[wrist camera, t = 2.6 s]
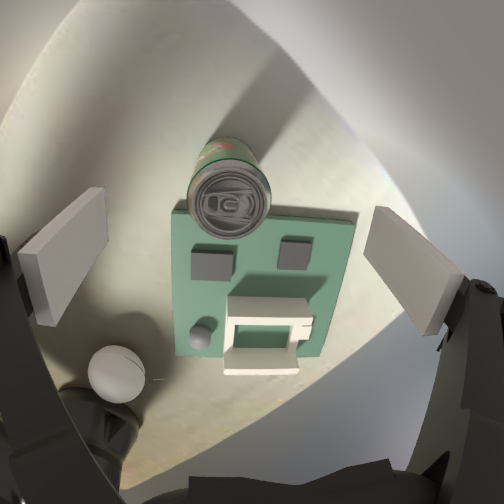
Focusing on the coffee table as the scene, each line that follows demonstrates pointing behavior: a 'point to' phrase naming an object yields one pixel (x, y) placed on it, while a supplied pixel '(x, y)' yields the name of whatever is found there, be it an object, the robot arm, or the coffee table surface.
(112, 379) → the seamed sphere
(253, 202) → the soda can
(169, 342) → the coffee table surface
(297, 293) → the board
